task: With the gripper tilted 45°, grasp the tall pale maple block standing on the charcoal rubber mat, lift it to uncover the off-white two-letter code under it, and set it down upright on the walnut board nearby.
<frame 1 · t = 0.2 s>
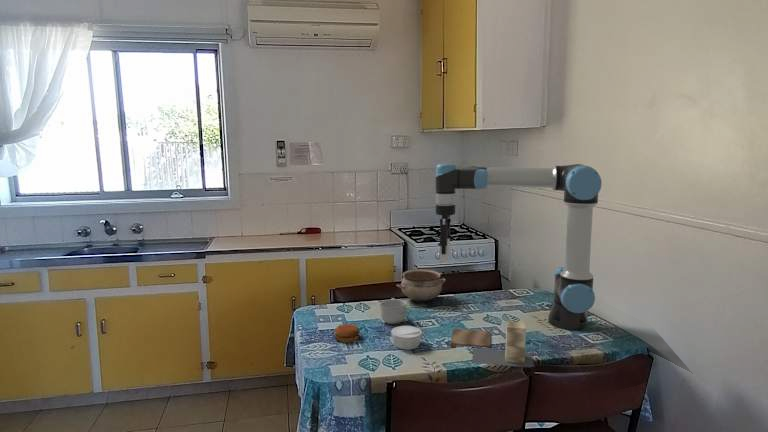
hand: (445, 258, 203), 28 cm above the table, tool pointing down, fingers open, 13 cm apart
maple block: (514, 358, 175), point 1 cm above the table, touching code mat
code mat: (502, 360, 176), on the table
burger: (346, 338, 196), on the table
walnut board: (470, 340, 193), on the table
cooking pot: (421, 300, 240), on the table
teacup: (393, 320, 215), on the table
ramekin: (406, 345, 190), on the table
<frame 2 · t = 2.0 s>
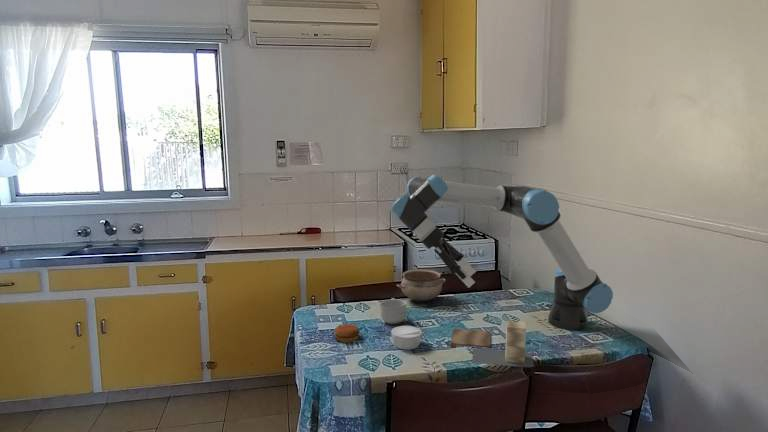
hand: (472, 279, 174), 28 cm above the table, tool tilted 45°, fingers open, 13 cm apart
nothing on the table moved.
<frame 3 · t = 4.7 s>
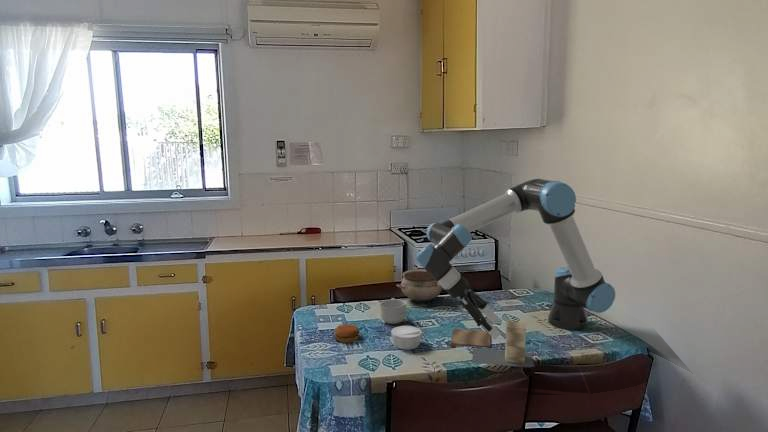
hand: (497, 328, 174), 11 cm above the table, tool tilted 45°, fingers open, 13 cm apart
nothing on the table moved.
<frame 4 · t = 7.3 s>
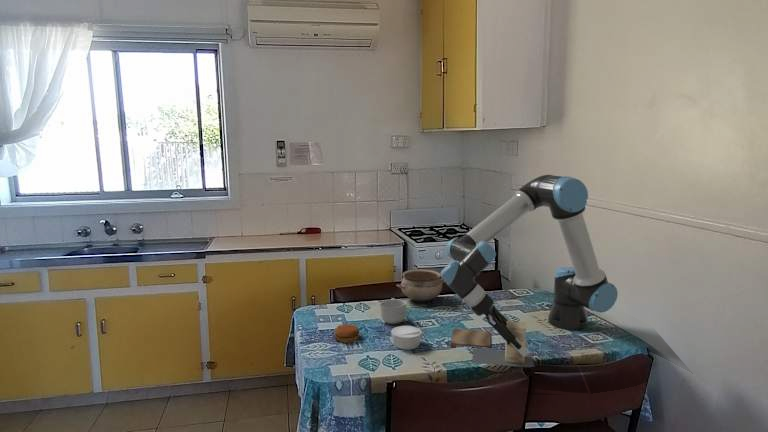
hand: (526, 350, 174), 4 cm above the table, tool tilted 45°, fingers closed on maple block, 6 cm apart
maple block: (514, 358, 175), point 1 cm above the table, touching code mat, gripper
everything else where it was.
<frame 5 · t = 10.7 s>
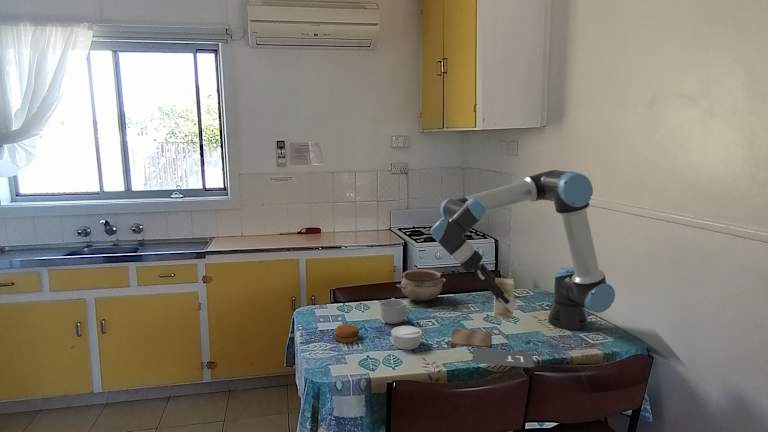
hand: (514, 306, 176), 18 cm above the table, tool tilted 45°, fingers closed on maple block, 6 cm apart
maple block: (502, 314, 177), point 15 cm above the table, touching gripper
everything else where it was.
when the fingers open (6 cm above the table, at t = 14.5 s): maple block drops 1 cm, resting on walnut board.
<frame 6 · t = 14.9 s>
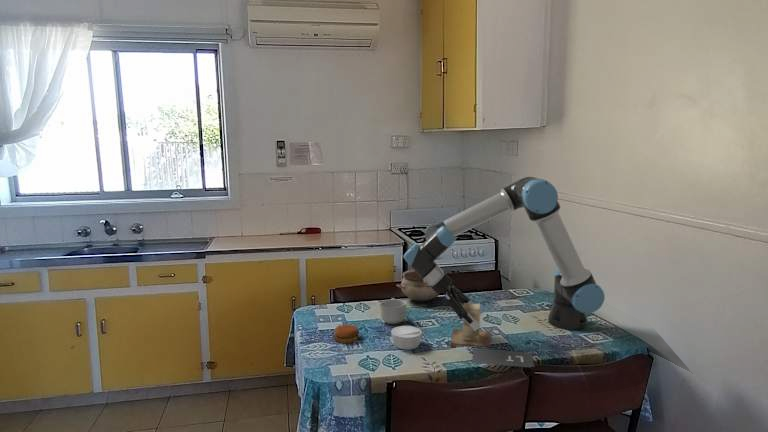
hand: (478, 322, 191), 7 cm above the table, tool tilted 45°, fingers open, 12 cm apart
maple block: (470, 337, 193), point 1 cm above the table, touching walnut board
everything else where it was.
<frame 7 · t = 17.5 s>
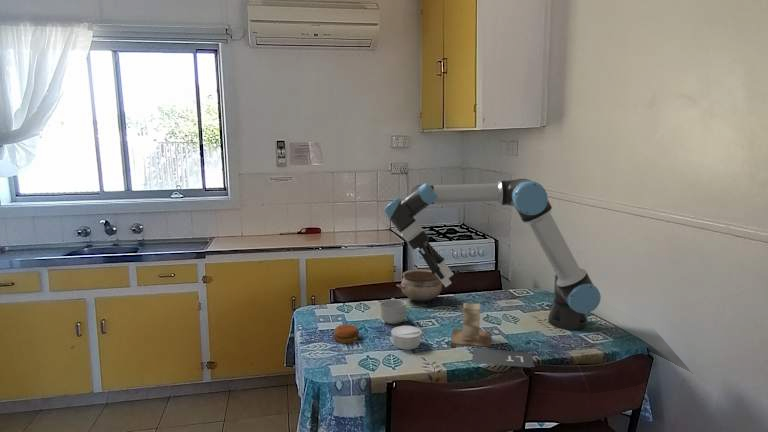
hand: (449, 280, 195), 22 cm above the table, tool tilted 40°, fingers open, 13 cm apart
nothing on the table moved.
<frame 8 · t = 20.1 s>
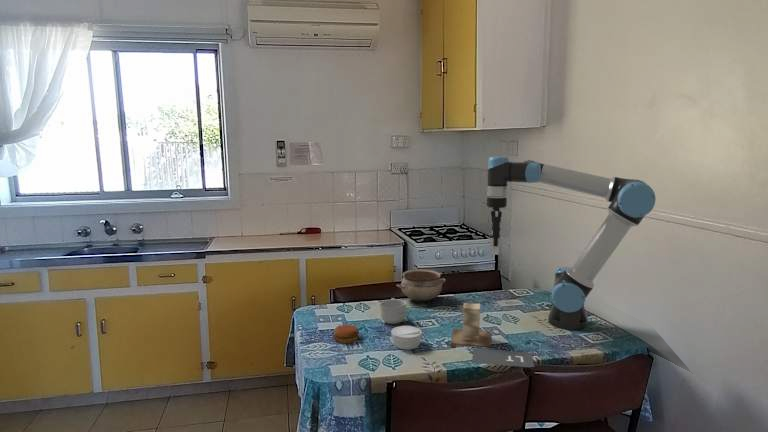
hand: (494, 250, 204), 31 cm above the table, tool pointing down, fingers open, 13 cm apart
nothing on the table moved.
at the end: maple block inside the target area on the walnut board (0.1 cm from its centre), point 1.5 cm above the walnut board's base; maple block tilted 0°; maple block touching walnut board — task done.
